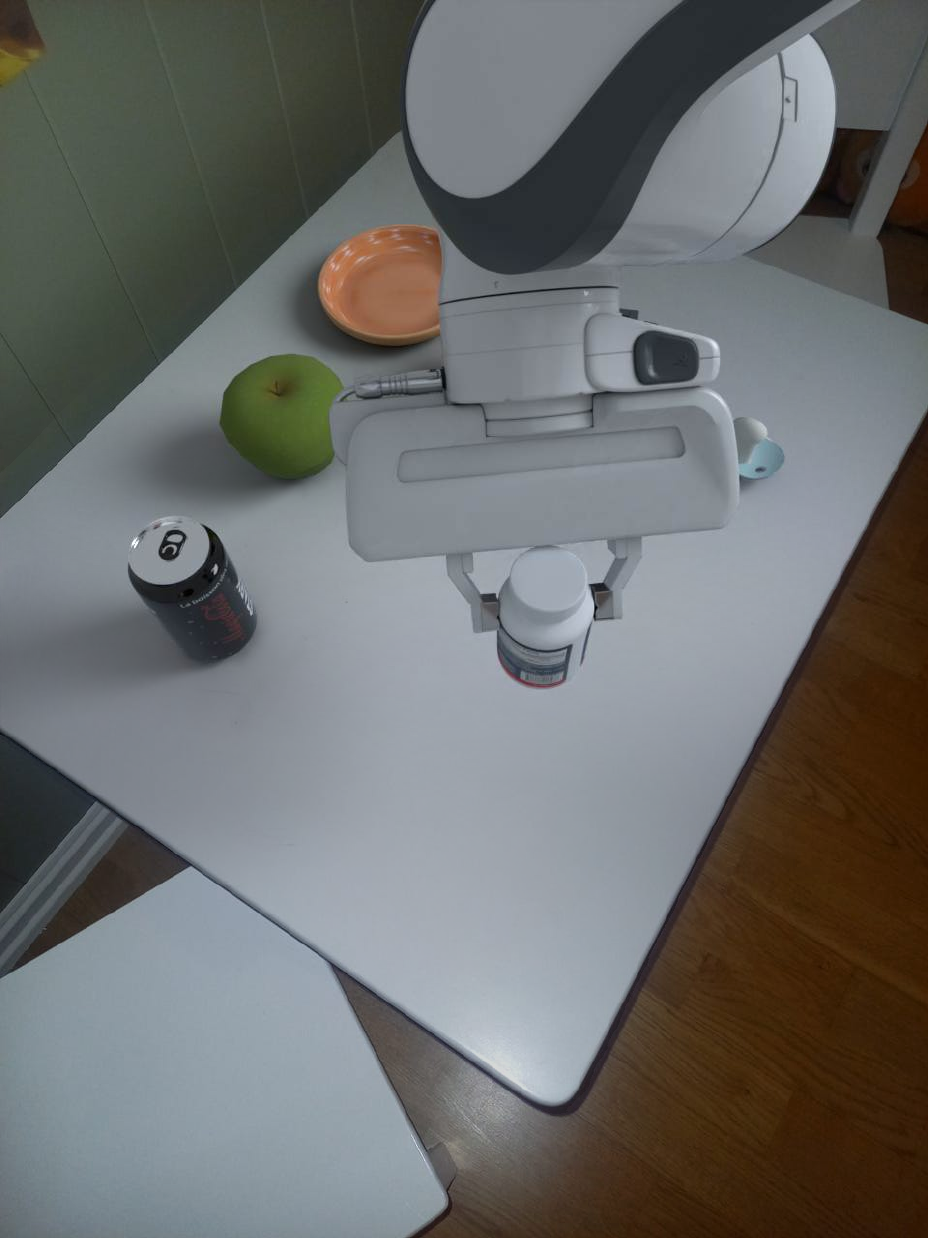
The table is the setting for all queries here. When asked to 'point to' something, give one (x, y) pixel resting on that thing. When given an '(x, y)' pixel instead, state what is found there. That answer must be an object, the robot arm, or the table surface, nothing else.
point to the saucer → (385, 285)
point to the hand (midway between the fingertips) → (547, 623)
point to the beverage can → (192, 587)
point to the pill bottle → (544, 618)
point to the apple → (282, 415)
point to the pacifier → (756, 449)
